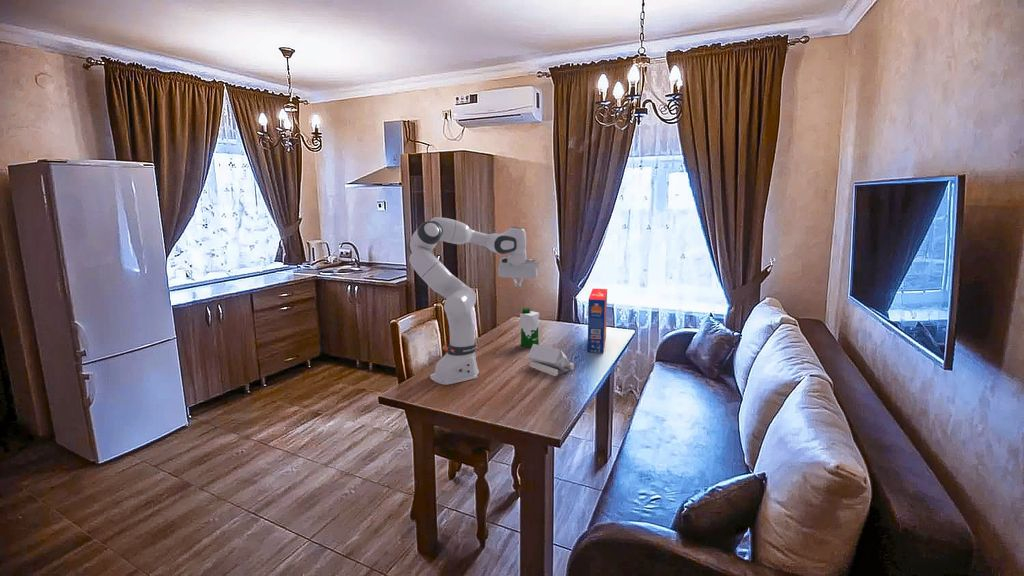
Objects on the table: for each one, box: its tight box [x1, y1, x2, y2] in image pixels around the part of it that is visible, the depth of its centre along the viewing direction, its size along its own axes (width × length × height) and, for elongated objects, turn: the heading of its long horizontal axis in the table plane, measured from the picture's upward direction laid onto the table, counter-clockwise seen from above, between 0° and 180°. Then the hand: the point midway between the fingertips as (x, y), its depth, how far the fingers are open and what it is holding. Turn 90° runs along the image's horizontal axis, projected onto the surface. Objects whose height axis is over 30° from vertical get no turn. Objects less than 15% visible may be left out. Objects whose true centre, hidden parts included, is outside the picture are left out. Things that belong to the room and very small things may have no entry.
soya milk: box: [519, 307, 540, 349], centre depth 257 cm, size 9×9×20 cm
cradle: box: [529, 360, 575, 377], centre depth 225 cm, size 13×16×2 cm
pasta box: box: [587, 288, 608, 354], centre depth 256 cm, size 28×8×28 cm, turn 166°
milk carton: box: [527, 344, 572, 369], centre depth 224 cm, size 7×7×19 cm
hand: (518, 286), depth 244 cm, fingers closed
